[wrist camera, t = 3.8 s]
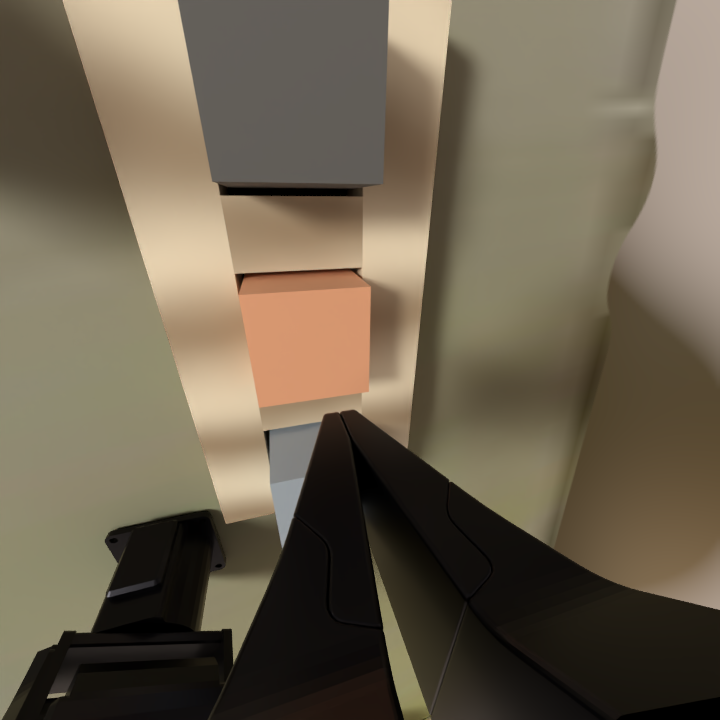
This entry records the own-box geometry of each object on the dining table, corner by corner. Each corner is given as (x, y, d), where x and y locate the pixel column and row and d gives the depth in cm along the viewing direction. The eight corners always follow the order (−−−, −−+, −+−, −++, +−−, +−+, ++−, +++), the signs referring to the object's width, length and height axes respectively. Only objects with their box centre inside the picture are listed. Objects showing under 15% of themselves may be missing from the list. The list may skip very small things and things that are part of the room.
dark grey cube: (347, 189, 14) (383, 184, 10) (231, 187, 13) (212, 181, 8) (345, 38, 12) (390, -57, 7) (203, 20, 10) (157, -105, 6)
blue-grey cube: (351, 463, 22) (372, 527, 17) (279, 477, 21) (282, 549, 16) (350, 405, 19) (374, 463, 15) (269, 417, 18) (269, 484, 14)
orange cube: (346, 348, 19) (368, 391, 14) (261, 357, 18) (259, 407, 13) (344, 264, 16) (370, 286, 12) (246, 268, 15) (238, 295, 11)
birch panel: (389, 454, 25) (404, 484, 22) (230, 485, 22) (225, 524, 19) (418, 16, 13) (454, -29, 10) (87, -34, 10) (27, -113, 8)
